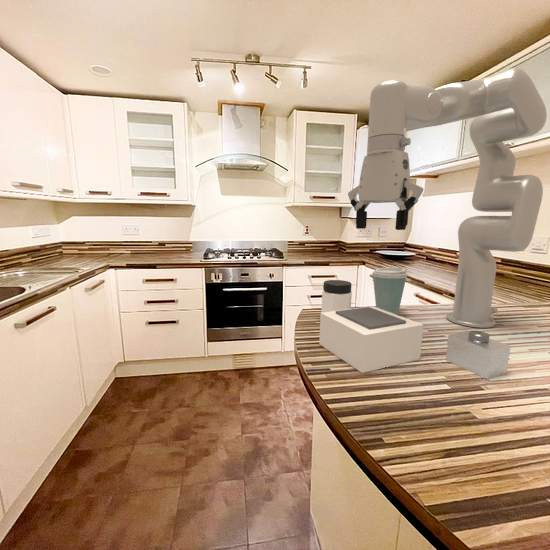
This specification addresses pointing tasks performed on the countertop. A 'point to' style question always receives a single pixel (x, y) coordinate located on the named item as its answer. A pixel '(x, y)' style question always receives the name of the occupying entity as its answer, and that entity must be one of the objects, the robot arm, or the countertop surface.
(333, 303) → the jar
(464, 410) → the countertop surface
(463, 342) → the housing
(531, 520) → the countertop surface
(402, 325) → the stand
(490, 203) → the robot arm
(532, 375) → the countertop surface
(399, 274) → the disposable coffee cup
